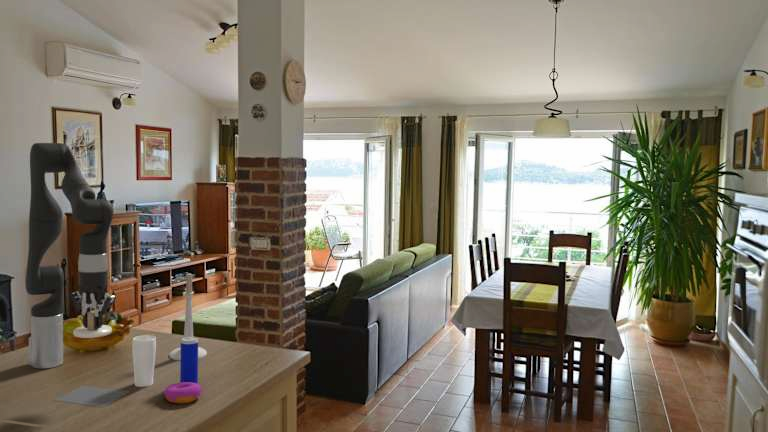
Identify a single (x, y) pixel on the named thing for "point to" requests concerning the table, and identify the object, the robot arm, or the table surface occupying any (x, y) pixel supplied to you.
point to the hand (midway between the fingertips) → (92, 327)
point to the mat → (92, 396)
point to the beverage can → (189, 360)
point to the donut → (183, 392)
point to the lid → (91, 328)
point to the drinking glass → (144, 359)
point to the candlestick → (188, 321)
